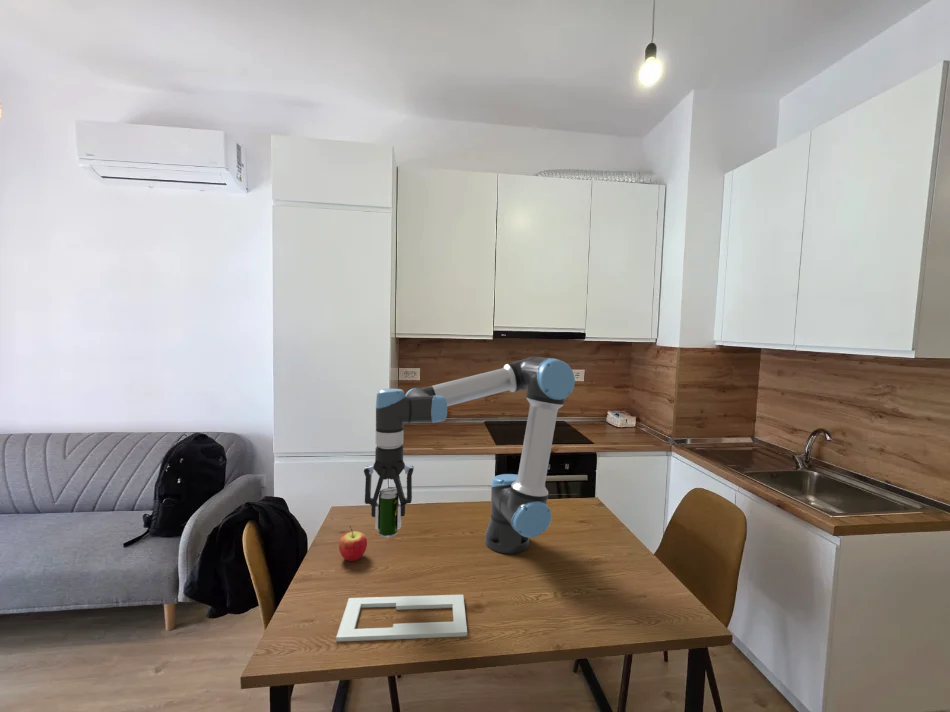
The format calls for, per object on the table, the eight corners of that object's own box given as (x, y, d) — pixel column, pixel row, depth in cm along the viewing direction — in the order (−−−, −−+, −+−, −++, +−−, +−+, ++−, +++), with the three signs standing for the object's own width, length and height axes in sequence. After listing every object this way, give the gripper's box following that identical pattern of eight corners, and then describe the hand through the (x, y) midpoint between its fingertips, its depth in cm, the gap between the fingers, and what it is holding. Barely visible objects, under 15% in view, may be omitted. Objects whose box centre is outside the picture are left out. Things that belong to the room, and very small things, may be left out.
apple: (355, 548, 134) (355, 518, 134) (372, 557, 129) (373, 526, 129) (333, 559, 128) (333, 527, 127) (350, 569, 123) (351, 536, 122)
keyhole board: (463, 598, 111) (463, 594, 111) (467, 636, 97) (467, 632, 97) (348, 601, 108) (348, 598, 108) (336, 641, 94) (336, 637, 94)
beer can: (378, 539, 112) (378, 495, 111) (378, 529, 117) (378, 488, 116) (398, 537, 113) (399, 494, 112) (397, 528, 118) (398, 487, 118)
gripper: (423, 441, 118) (421, 520, 120) (358, 441, 116) (357, 521, 118) (422, 449, 111) (420, 533, 112) (352, 449, 109) (351, 534, 110)
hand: (388, 527), depth 115 cm, fingers closed on beer can, 5 cm apart
